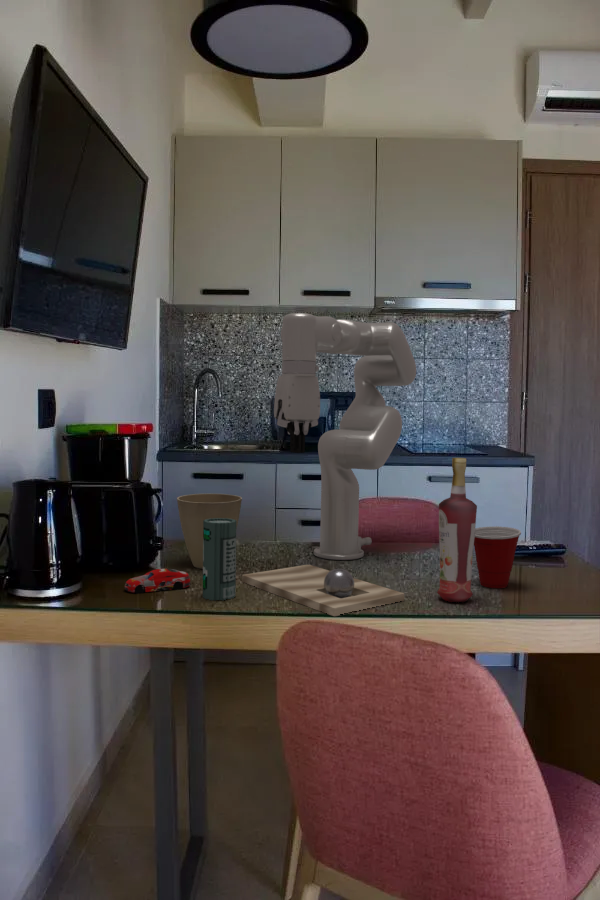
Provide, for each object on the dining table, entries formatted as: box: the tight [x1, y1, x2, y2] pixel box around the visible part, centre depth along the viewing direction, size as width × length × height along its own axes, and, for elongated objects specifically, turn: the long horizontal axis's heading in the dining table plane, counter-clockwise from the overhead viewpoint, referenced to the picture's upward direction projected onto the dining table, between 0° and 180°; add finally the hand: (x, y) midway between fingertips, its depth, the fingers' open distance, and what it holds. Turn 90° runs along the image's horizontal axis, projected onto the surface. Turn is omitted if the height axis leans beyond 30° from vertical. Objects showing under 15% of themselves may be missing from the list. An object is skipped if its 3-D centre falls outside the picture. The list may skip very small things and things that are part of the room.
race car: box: [124, 568, 191, 595], centre depth 147 cm, size 13×5×4 cm, turn 114°
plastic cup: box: [473, 525, 522, 589], centre depth 155 cm, size 11×11×12 cm
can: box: [202, 518, 237, 601], centre depth 142 cm, size 6×6×15 cm
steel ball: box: [324, 567, 354, 598], centre depth 142 cm, size 6×6×6 cm
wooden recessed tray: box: [241, 564, 405, 617], centre depth 147 cm, size 30×18×2 cm, turn 38°
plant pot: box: [176, 493, 243, 570], centre depth 168 cm, size 15×15×16 cm
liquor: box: [436, 457, 478, 604], centre depth 142 cm, size 7×7×28 cm
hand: (297, 452), depth 162 cm, fingers closed
